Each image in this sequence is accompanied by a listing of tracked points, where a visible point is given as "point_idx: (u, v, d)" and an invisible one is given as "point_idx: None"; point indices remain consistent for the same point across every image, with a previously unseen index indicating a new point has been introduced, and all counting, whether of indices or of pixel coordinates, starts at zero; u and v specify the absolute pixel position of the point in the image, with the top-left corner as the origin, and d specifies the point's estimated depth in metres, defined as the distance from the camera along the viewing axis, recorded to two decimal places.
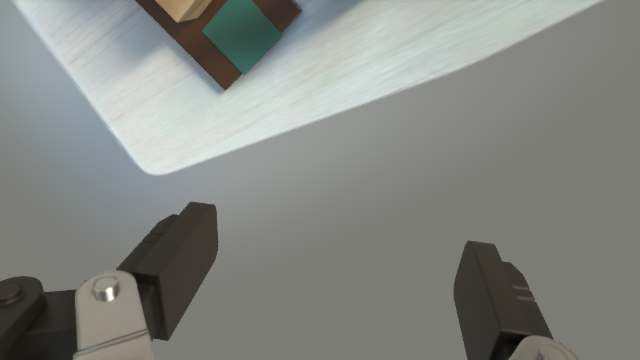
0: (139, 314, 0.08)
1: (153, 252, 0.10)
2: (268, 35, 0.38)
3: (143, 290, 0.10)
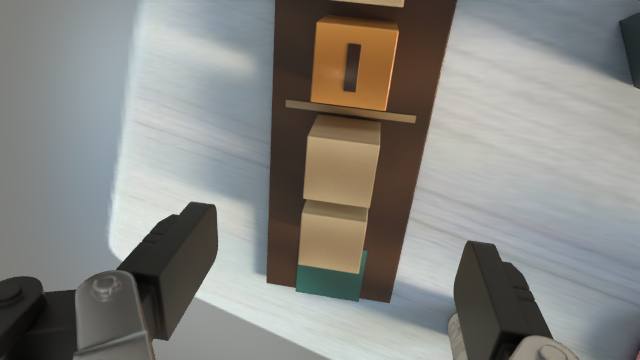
0: (139, 314, 0.08)
1: (153, 252, 0.10)
2: (347, 291, 0.35)
3: (143, 290, 0.10)
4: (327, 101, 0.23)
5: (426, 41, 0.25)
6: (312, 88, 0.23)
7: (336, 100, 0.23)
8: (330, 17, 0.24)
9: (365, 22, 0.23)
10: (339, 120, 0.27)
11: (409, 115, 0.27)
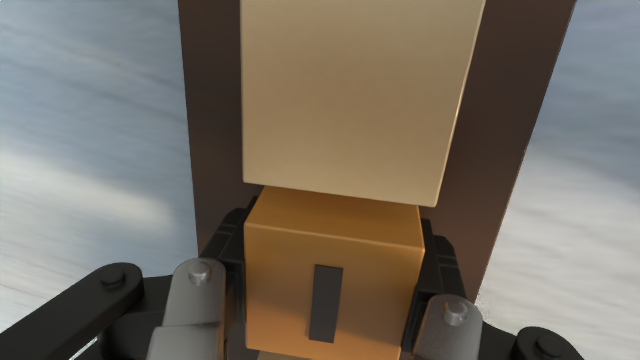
0: (220, 305, 0.09)
1: (232, 241, 0.11)
2: None
3: (228, 276, 0.10)
4: (278, 351, 0.12)
5: (468, 201, 0.14)
6: (247, 329, 0.11)
7: (296, 350, 0.12)
8: None
9: None
10: None
11: None
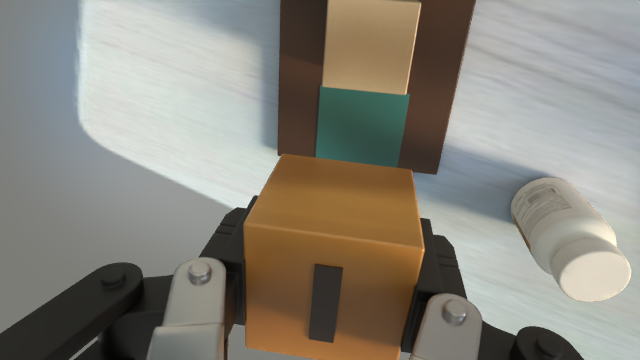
0: (220, 305, 0.09)
1: (232, 242, 0.11)
2: (382, 161, 0.27)
3: (228, 276, 0.10)
4: (278, 350, 0.12)
5: None
6: (247, 328, 0.11)
7: (296, 350, 0.11)
8: (284, 174, 0.12)
9: (352, 194, 0.11)
10: None
11: None
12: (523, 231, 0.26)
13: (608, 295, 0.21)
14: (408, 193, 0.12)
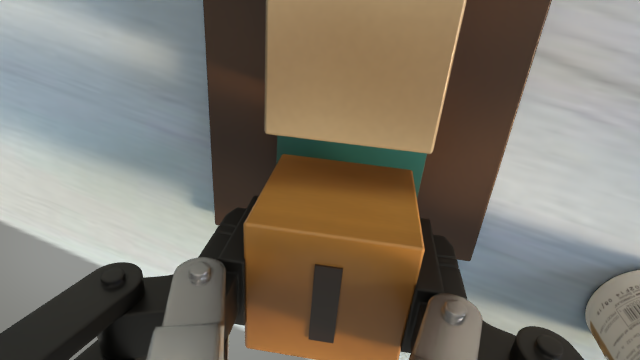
0: (220, 305, 0.09)
1: (232, 241, 0.11)
2: None
3: (228, 276, 0.10)
4: (278, 350, 0.12)
5: None
6: (247, 329, 0.11)
7: (296, 350, 0.12)
8: (284, 174, 0.12)
9: (352, 194, 0.11)
10: None
11: None
12: None
13: None
14: (408, 193, 0.12)
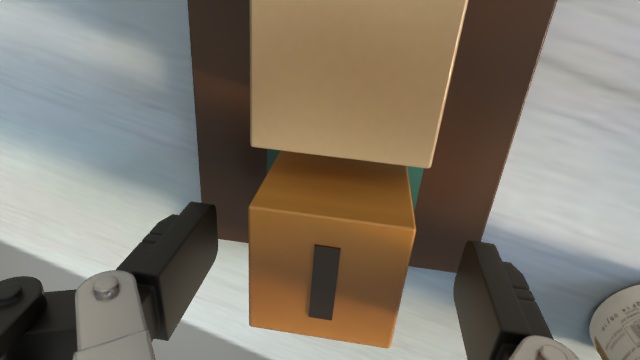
0: (139, 314, 0.08)
1: (153, 252, 0.10)
2: None
3: (143, 290, 0.10)
4: (280, 328, 0.12)
5: None
6: (250, 307, 0.12)
7: (296, 328, 0.12)
8: (286, 163, 0.13)
9: (349, 181, 0.12)
10: None
11: None
12: None
13: None
14: (401, 181, 0.12)
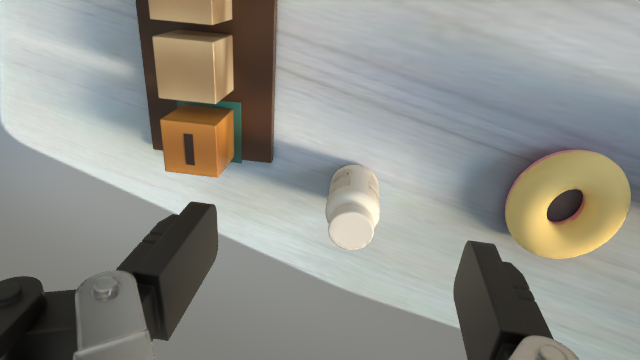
0: (139, 314, 0.08)
1: (153, 252, 0.10)
2: None
3: (143, 290, 0.10)
4: (176, 171, 0.32)
5: None
6: (165, 162, 0.32)
7: (183, 170, 0.32)
8: (180, 109, 0.33)
9: (202, 114, 0.32)
10: None
11: None
12: None
13: (363, 244, 0.31)
14: (223, 115, 0.33)
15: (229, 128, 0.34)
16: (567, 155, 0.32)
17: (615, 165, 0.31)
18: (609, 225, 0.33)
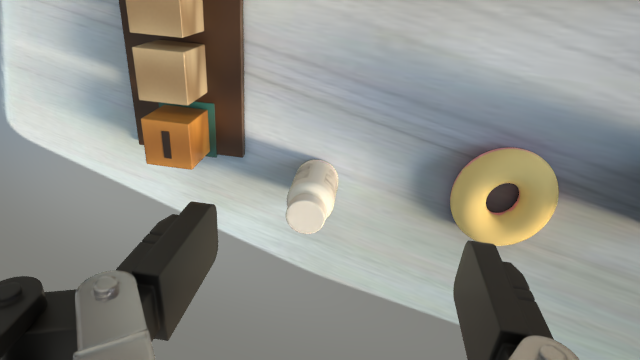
0: (139, 314, 0.08)
1: (153, 252, 0.10)
2: None
3: (143, 290, 0.10)
4: (156, 163, 0.37)
5: None
6: (146, 156, 0.37)
7: (161, 163, 0.37)
8: (160, 109, 0.38)
9: (178, 114, 0.37)
10: None
11: None
12: None
13: (316, 229, 0.35)
14: (197, 114, 0.37)
15: (203, 126, 0.38)
16: (500, 152, 0.36)
17: (543, 161, 0.35)
18: (539, 215, 0.36)
